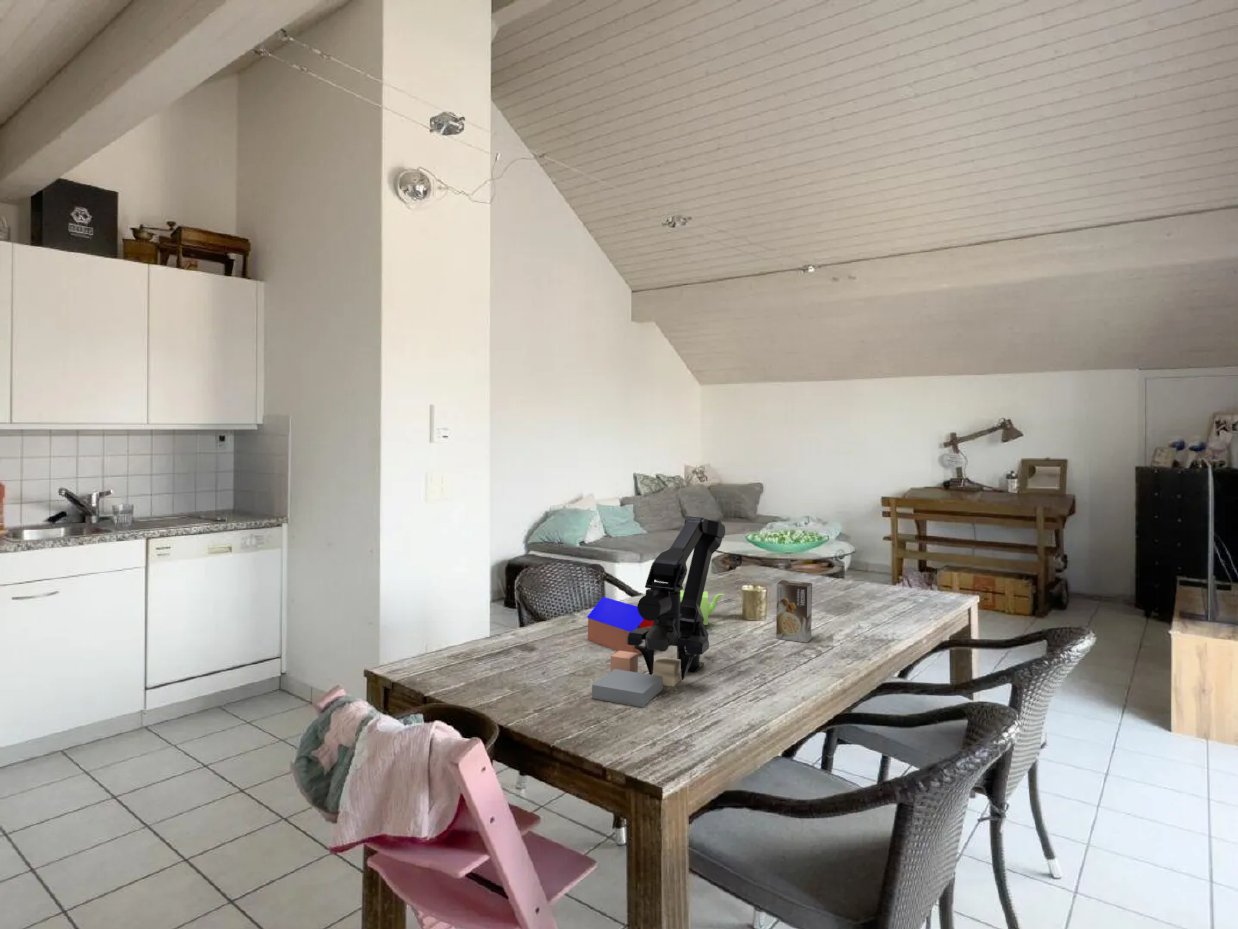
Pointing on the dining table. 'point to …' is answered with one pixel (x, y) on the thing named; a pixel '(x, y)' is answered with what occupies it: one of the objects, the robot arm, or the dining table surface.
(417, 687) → the dining table surface
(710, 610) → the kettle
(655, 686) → the slate board
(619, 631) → the house
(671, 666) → the birch cube
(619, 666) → the terracotta cube
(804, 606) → the coffee box
